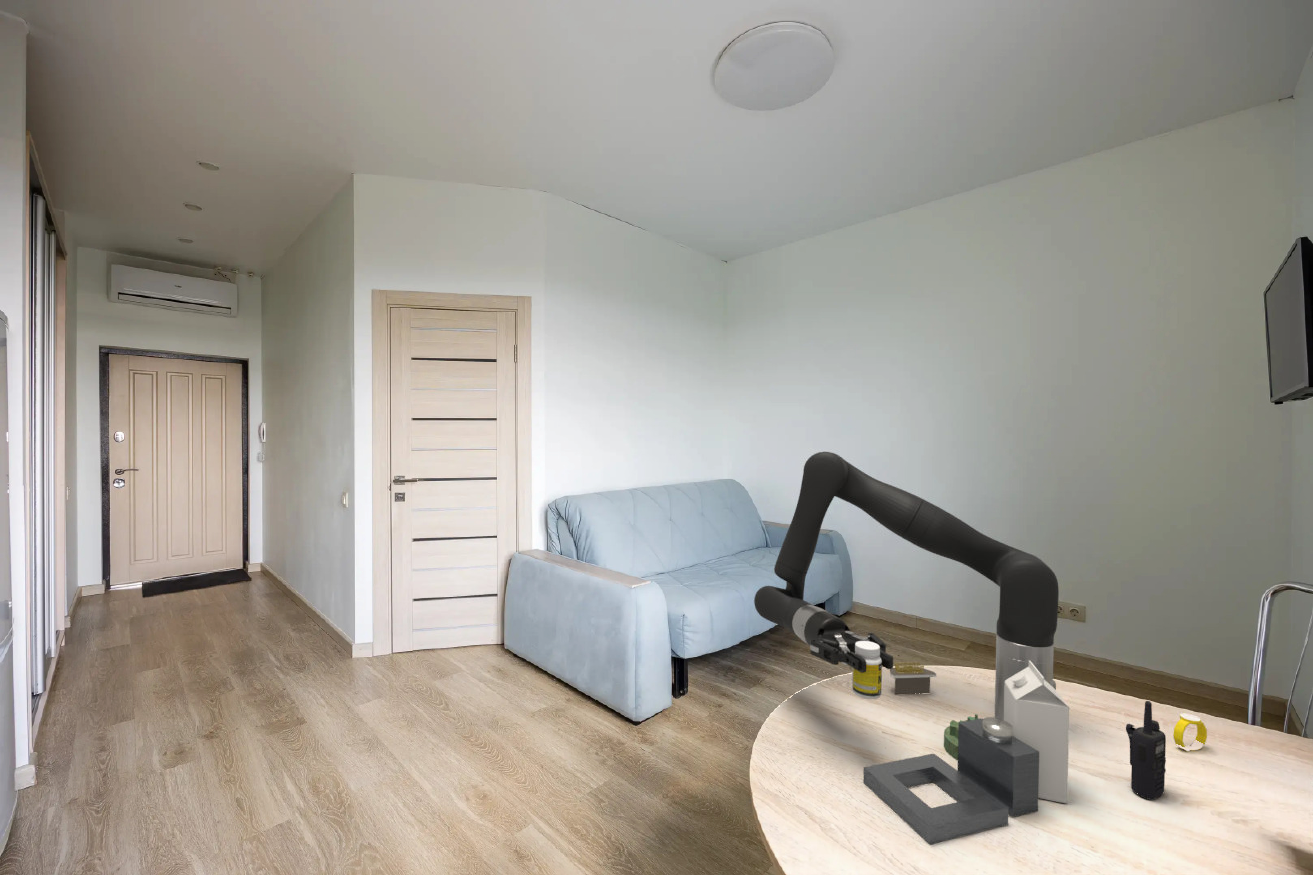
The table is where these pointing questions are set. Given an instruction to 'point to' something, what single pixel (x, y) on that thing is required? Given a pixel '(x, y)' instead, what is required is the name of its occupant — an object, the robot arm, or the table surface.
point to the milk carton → (1040, 727)
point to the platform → (911, 678)
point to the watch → (1183, 723)
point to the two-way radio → (1147, 756)
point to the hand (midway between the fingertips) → (877, 664)
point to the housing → (964, 783)
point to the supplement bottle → (868, 671)
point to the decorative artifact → (953, 737)
